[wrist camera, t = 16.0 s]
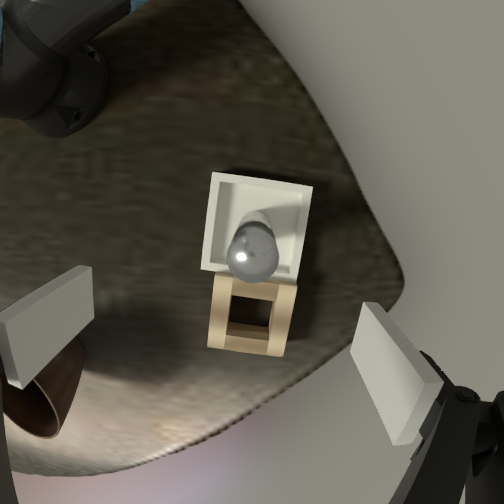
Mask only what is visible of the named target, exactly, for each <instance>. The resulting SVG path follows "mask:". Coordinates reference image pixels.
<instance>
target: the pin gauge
mask: <svg viewBox="0 0 504 504" xmlns="http://www.w3.org/2000/svg"><path fill="white" fill-rule="evenodd" d="M226 259H227V265H228V268H229V270H230V271H231V273H232V274H233V275H234V276H235V277H236V278H238V279H239V280H241V281H243V282H246V283H259V282H263V281H265V280H267V279H268V278H270V277H271V276H272V275H273V274H274V272H275V271H276V269H277V267H278V264H279V252H278V248H277V244H276V240H275V236H274V232H273V228H272V225H271V221H270V219H269V217H268V216H267V215H266V214H265V213H263V212H260V211H250V212H248V213H246V214H245V215H244V216H243V217H242V219H241V221H240V223H239V225H238V227H237V230H236V232H235V234H234V236H233V239H232V241H231V243H230V245H229V247H228V250H227V256H226Z"/></svg>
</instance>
